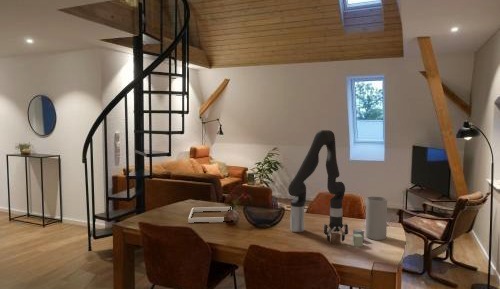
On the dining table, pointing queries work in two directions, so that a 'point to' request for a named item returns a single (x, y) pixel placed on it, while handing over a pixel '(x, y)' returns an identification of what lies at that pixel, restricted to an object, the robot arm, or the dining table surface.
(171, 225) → the dining table surface
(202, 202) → the dining table surface
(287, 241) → the dining table surface
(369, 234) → the cylinder vase
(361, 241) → the sage block
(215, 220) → the white square frame
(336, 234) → the walnut block
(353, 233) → the grey block
